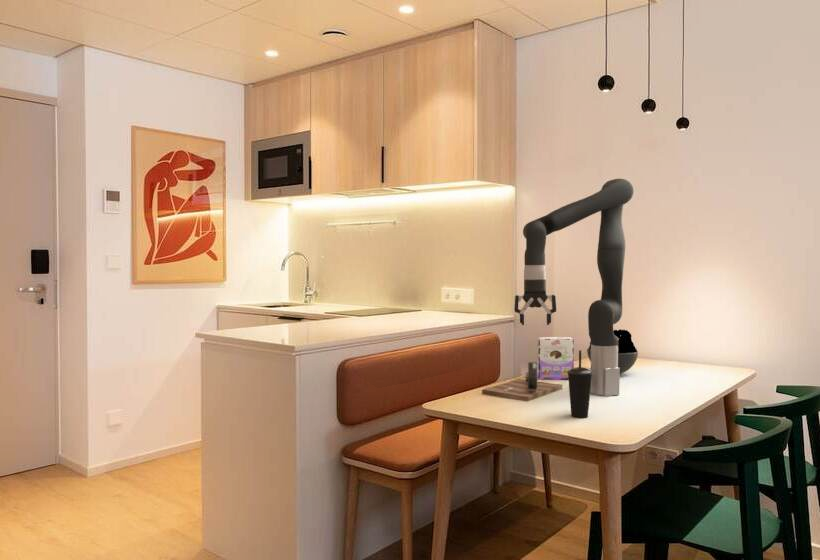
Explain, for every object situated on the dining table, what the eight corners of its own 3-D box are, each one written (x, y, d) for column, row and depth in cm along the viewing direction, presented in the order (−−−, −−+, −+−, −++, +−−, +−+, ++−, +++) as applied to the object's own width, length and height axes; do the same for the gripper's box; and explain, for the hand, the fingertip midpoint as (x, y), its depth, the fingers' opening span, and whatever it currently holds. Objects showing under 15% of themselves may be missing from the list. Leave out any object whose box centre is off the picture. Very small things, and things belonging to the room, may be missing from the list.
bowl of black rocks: (642, 379, 252) (642, 332, 251) (589, 378, 255) (590, 331, 255) (632, 370, 272) (633, 326, 271) (584, 369, 275) (584, 325, 274)
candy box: (571, 377, 257) (572, 336, 256) (573, 380, 251) (574, 338, 250) (536, 376, 258) (536, 336, 258) (538, 379, 252) (538, 338, 252)
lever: (525, 379, 241) (525, 353, 241) (536, 380, 240) (536, 353, 240) (526, 392, 219) (526, 363, 219) (538, 392, 218) (538, 363, 218)
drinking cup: (588, 413, 198) (588, 348, 197) (596, 419, 190) (596, 352, 190) (563, 413, 198) (564, 348, 197) (570, 419, 190) (571, 352, 189)
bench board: (518, 382, 246) (518, 378, 246) (562, 388, 234) (562, 384, 234) (482, 394, 225) (482, 389, 225) (527, 401, 214) (527, 396, 214)
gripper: (554, 277, 226) (555, 323, 226) (513, 278, 227) (514, 324, 228) (556, 278, 218) (557, 325, 218) (514, 278, 220) (514, 325, 220)
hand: (535, 324), depth 223 cm, fingers open, 8 cm apart
